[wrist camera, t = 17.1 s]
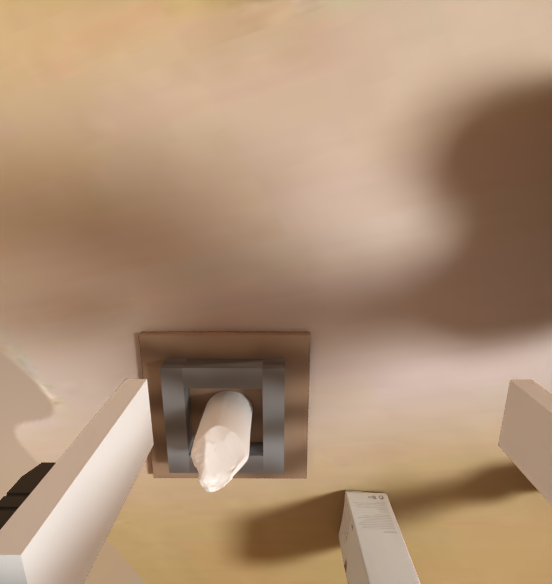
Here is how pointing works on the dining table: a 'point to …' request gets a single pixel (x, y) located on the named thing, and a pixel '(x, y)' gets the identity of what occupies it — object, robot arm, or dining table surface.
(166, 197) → the dining table surface
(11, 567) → the robot arm
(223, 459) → the white bottle-shaped piece
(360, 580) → the skincare box
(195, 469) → the socket
